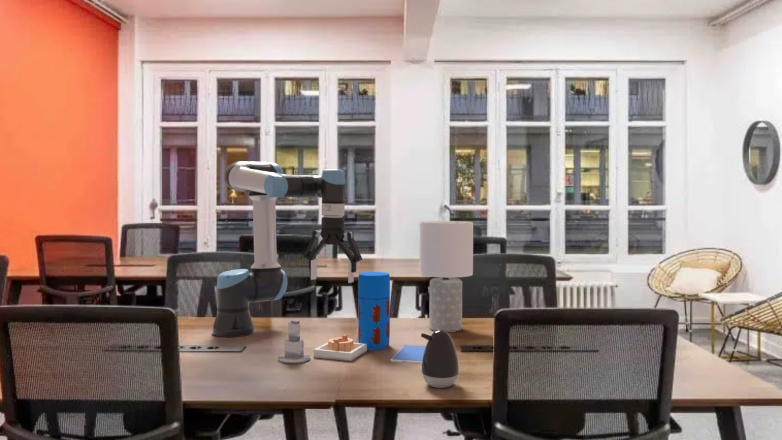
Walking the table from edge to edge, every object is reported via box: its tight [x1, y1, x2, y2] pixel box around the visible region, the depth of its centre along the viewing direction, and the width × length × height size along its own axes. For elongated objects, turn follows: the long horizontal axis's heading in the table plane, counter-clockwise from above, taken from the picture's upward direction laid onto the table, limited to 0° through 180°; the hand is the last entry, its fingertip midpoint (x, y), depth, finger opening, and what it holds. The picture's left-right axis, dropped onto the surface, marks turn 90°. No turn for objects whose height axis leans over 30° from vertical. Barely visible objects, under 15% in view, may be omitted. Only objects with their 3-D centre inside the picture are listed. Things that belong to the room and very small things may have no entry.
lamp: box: [418, 220, 474, 333], centre depth 236 cm, size 21×21×42 cm
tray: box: [313, 342, 368, 362], centre depth 198 cm, size 13×13×2 cm
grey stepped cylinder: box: [277, 319, 311, 365], centre depth 192 cm, size 10×10×12 cm
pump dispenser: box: [420, 330, 460, 389], centre depth 166 cm, size 10×10×15 cm
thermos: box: [357, 271, 391, 351], centre depth 209 cm, size 11×11×25 cm
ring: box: [327, 334, 354, 352], centre depth 198 cm, size 8×8×5 cm
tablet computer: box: [389, 344, 426, 365], centre depth 198 cm, size 19×13×1 cm, turn 165°
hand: (332, 280), depth 201 cm, fingers open, 13 cm apart
